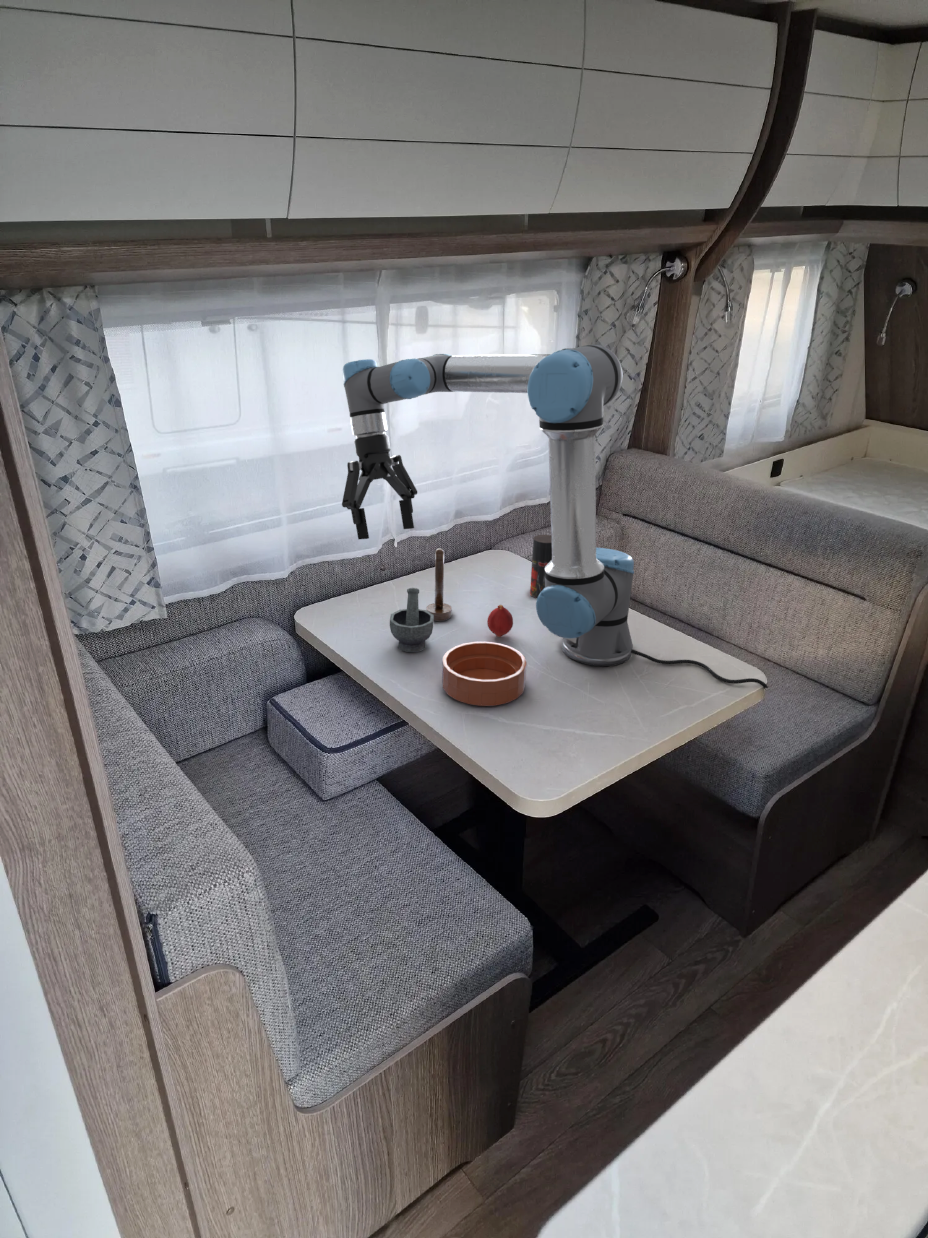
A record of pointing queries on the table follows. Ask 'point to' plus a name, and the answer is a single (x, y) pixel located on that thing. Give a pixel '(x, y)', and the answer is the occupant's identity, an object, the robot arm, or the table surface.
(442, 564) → the wooden peg stand
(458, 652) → the bowl
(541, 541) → the deodorant
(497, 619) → the onion
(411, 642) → the mortar and pestle
